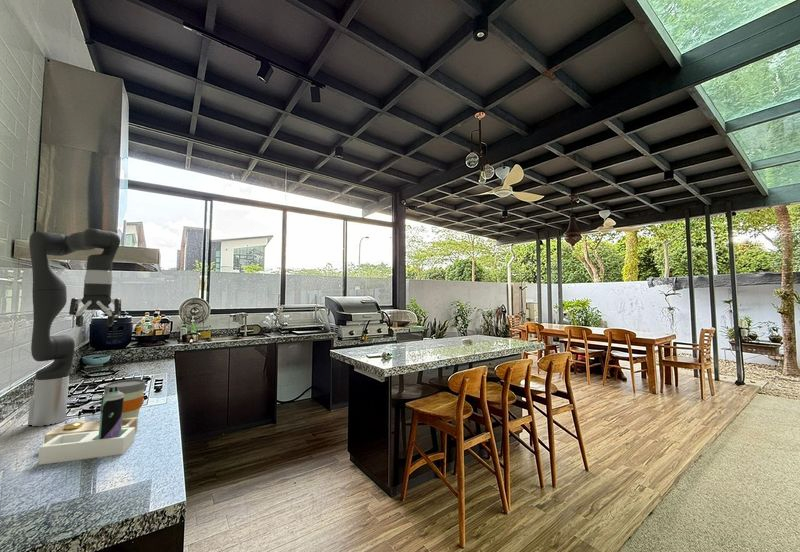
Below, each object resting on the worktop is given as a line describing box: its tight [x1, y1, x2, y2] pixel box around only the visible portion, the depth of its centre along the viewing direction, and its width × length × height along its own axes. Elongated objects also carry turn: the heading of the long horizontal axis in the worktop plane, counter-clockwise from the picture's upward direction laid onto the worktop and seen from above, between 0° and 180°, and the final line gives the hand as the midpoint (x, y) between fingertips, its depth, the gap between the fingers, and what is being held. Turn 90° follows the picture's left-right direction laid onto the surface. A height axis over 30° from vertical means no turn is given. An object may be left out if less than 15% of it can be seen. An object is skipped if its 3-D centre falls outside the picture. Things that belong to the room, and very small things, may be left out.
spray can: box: [98, 387, 124, 439], centre depth 105 cm, size 6×6×20 cm
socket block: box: [43, 416, 139, 445], centre depth 111 cm, size 22×9×5 cm, turn 111°
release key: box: [64, 421, 83, 430], centre depth 109 cm, size 4×4×6 cm
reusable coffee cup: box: [103, 378, 146, 419], centre depth 128 cm, size 13×13×15 cm
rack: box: [37, 427, 136, 466], centre depth 103 cm, size 20×9×5 cm, turn 111°
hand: (94, 326), depth 120 cm, fingers open, 8 cm apart
